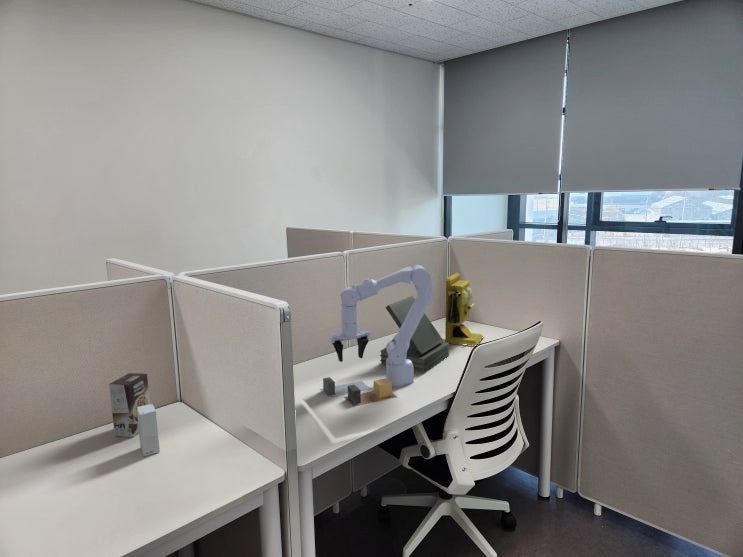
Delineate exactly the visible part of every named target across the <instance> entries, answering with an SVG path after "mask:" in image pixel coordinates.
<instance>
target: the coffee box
mask: <svg viewBox="0 0 743 557" xmlns="http://www.w3.org/2000/svg"><path fill="white" fill-rule="evenodd" d="M108 386H109V395H110V402H111V403H110V404H111V414H112V423H113V424H112V425H113V431H114V432H113V433H114V437H124V438H134V437H136V436H137V435H139V427H138V416H137V407H139V406H144V405H149V404H151V401H150V392H149V391H150V389H149V381H148V374H147V373H140V372H139V373H136V372H135V373H133V372H130V373H126V374H125V375H123V376H121V377H119V378H118V379H116V380H114V381H112V382H110V383H109V384H108Z"/></svg>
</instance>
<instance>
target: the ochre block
mask: <svg viewBox="0 0 743 557" xmlns="http://www.w3.org/2000/svg"><path fill="white" fill-rule="evenodd" d="M392 388H393V386H392V383H391V382H390V381H389V380H387V379H386V377H385V378H381V379H375V380H373V391H374V394H375V395H377V396H378V397H379V398H383V397H387V396H392V393H393V391H392V390H393V389H392Z"/></svg>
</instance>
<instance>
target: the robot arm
mask: <svg viewBox="0 0 743 557" xmlns="http://www.w3.org/2000/svg"><path fill="white" fill-rule="evenodd" d="M411 282H412V283H411ZM398 283H406V284H413V285H414V287H415V288H414V289H415V290H416V292H417V293H416V294H417V295H416V297H415V298H414V299H415V301H414V302H413V304H412V306H411V308H410V310H409V312H408V314H407V316H406V318H405V320H404V322H403V324H402V326H401V328H400V329H398V331H397V333H396V334H395V335H393V337H392V339H391V340H390V341H388V343H386V347H385V348H386V351H387V353H388V358H387V359H386V366H385V372H386V373H385V375H386V377H385V378H386V379H387V380H389V381H390V382H391V383H392V387H402V386H405V385H408V384H413V383H414V382H415V380H414V379H415V378H414V377H415V375H414V374H415V372H414V367H413V364H412V362H411V360H409V359H406V357H407V350H408V348H409V343H410V340H411V338H412V336H413V334H414V332H415V330H416V328H417V326H418V324H419V322H420V320H421V318H422V317H423V315H424V313H425V312H426V311H427V308H428V307H429V305H430V303H431V302H432V299H433V297H434V293H433V292H434V291H433V278H432V276H431V274H430V272H429V270H427V269H426V268H425V267H424V266H423V265H421V264H413V265H411V266H406V267H404V268H402V269H399V270H397V271H394V272H392V273H390V274H388V275H385V276H383V277H381V278H379V279H377V280H376V279H372V278H370V279H369V278H365V279H363V281H362V282H359V283H357V284H351V287H350V286H347V287H344V288H343V289H342V290H341V292H340V295H339V296H340V300H341V304H340V305H341V306H340V307H341V310H340V312H341V313H340V314H341V333H339V334H335V335H331V336H329V342H330V343H331V344H332V346H333V348H334V349H335V352H336V355H337V359H338V361H339V362H340V363H342V362H343V361H344V360H343V359H344V358H343V356H344V354H343V351H344V344H343V343H342V342H343V341H345V342H346V341H350V340H351V341H352V340H356V341H357V351H358V352H357V355H358V358H360V359H363V358H364V353H365V351H366V350H365V349H366V347H367V345H368V344H369V341H370V340H369V338H371V331H369V330H364V331H363V330H359V313H358V312H359V311H358V302H359V301H360V302H361V301H363V300H366V299H368V298H371V297H374V296H376V295H378V294H379V291H381V290H382V289H384V288H387V287H390V286H394V285H396V284H398ZM425 314H426V313H425Z"/></svg>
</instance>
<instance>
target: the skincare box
mask: <svg viewBox="0 0 743 557" xmlns="http://www.w3.org/2000/svg"><path fill="white" fill-rule="evenodd" d="M137 416H138V427H139V433H138V435H139V445H140V450H141V452H142V455H143V457H148V456H151V455H154V454H157V453H158V454H159V453H160V451H161V450H160V440H159V437H160V436H159V428H158V418H157V411H156V409H155V406H154V404H153V403H150V404H149V405H144V406H139V407H137Z"/></svg>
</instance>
